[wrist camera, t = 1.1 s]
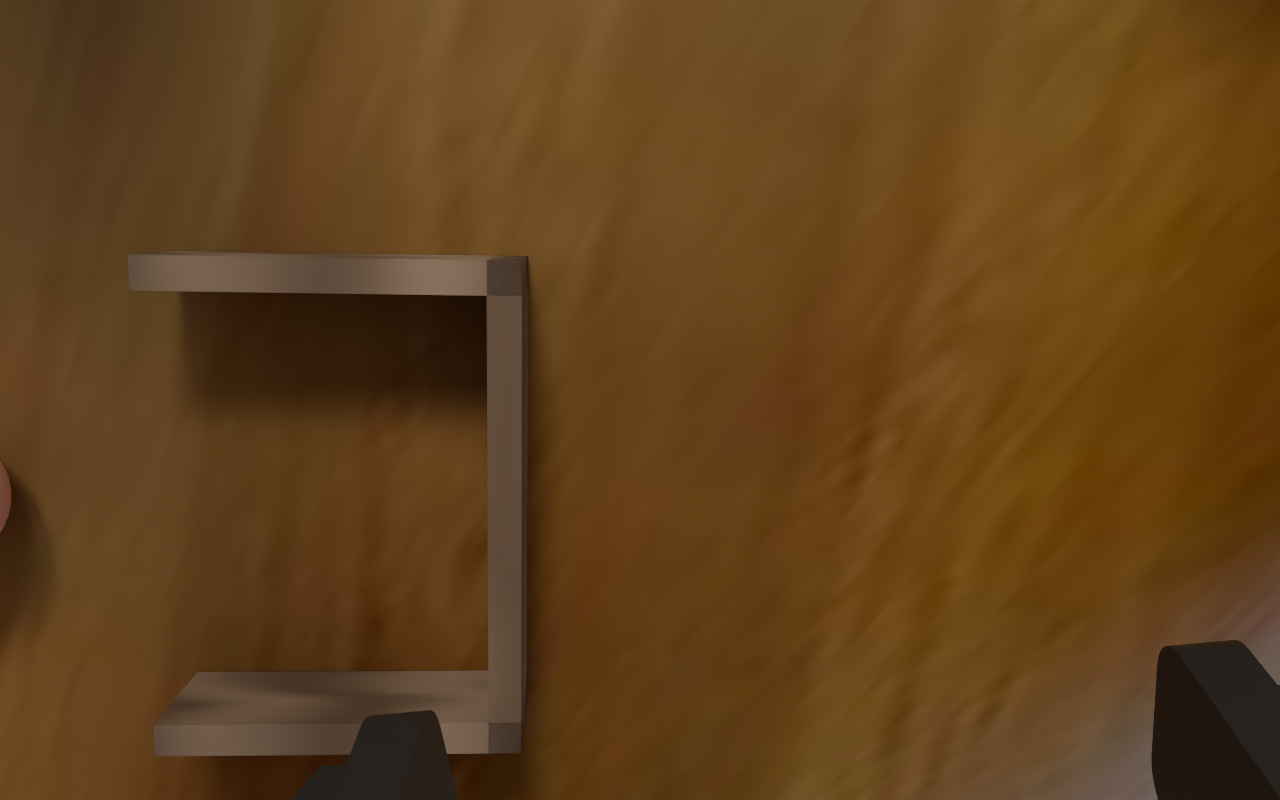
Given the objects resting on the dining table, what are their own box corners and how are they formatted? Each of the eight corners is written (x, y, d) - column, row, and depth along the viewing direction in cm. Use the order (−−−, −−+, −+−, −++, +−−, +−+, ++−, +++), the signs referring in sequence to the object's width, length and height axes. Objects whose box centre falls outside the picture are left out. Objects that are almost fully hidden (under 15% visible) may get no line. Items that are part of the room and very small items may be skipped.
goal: (198, 700, 38) (154, 756, 34) (177, 250, 35) (127, 254, 32) (527, 698, 38) (521, 753, 35) (528, 256, 36) (521, 261, 32)
